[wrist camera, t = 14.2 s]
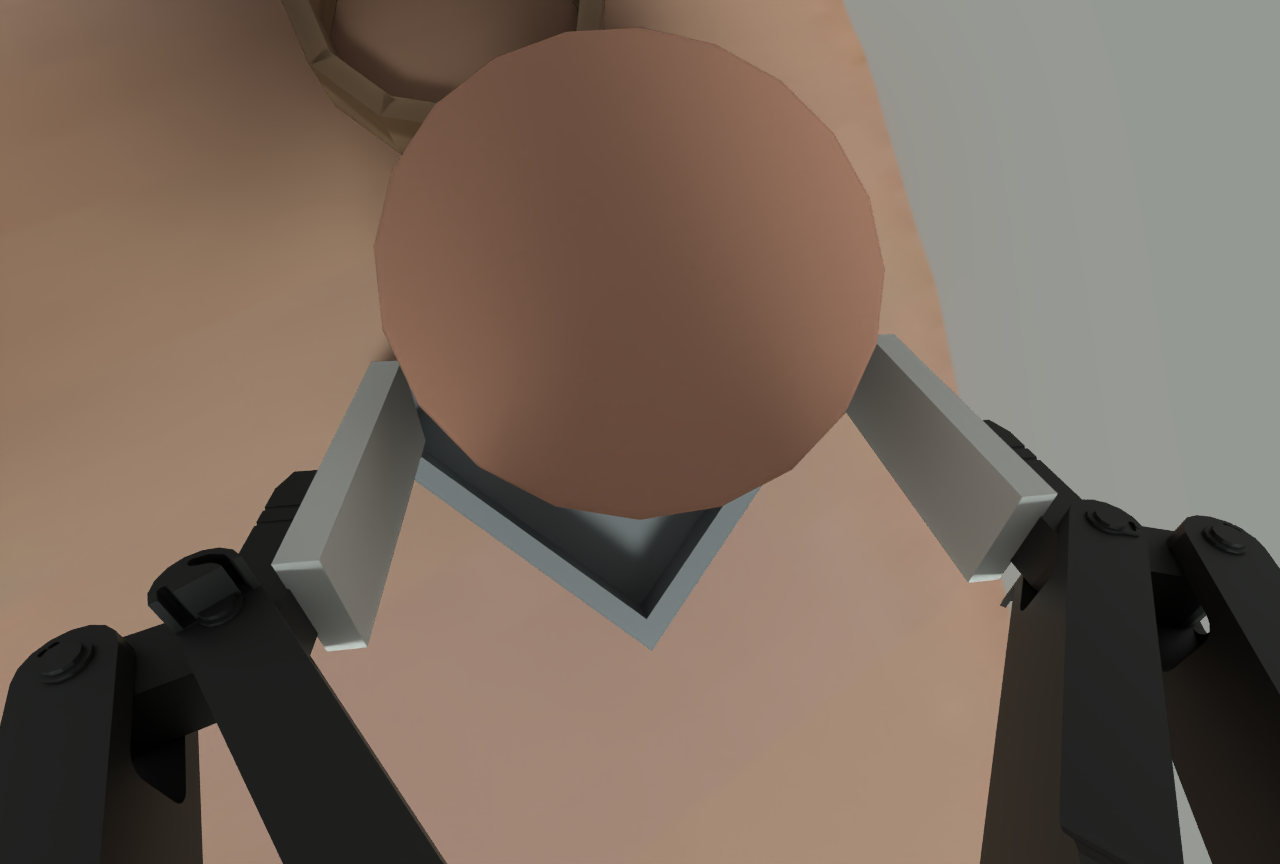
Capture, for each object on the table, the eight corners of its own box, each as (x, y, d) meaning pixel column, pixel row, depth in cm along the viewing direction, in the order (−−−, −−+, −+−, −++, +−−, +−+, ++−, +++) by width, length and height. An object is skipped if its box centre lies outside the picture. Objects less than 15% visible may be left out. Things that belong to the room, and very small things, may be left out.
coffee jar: (729, 346, 30) (939, 126, 12) (671, 533, 28) (813, 592, 11) (545, 281, 29) (483, -49, 12) (475, 468, 28) (280, 416, 10)
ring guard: (248, 42, 30) (211, -7, 27) (435, -145, 33) (420, -208, 30) (486, 216, 31) (476, 186, 28) (654, 16, 33) (661, -31, 30)
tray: (380, 440, 29) (347, 431, 25) (573, 202, 31) (572, 159, 27) (642, 629, 29) (651, 650, 25) (813, 376, 31) (845, 359, 27)
